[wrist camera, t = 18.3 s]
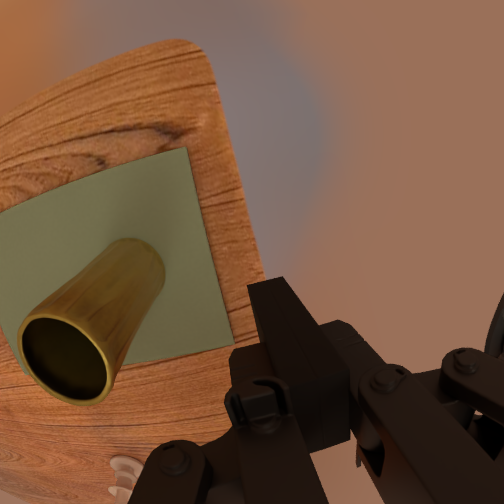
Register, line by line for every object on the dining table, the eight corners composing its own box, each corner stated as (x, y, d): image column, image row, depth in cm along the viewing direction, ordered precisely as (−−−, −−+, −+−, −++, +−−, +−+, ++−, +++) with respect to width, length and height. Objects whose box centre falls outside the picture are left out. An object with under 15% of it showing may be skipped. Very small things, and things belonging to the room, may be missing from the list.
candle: (123, 450, 30) (110, 510, 20) (153, 468, 32) (147, 527, 21) (103, 461, 30) (90, 516, 20) (132, 478, 32) (124, 532, 22)
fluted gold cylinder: (92, 245, 23) (-8, 309, 10) (156, 230, 24) (92, 291, 10) (111, 309, 25) (44, 412, 11) (173, 298, 25) (142, 412, 12)
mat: (186, 147, 23) (186, 146, 23) (234, 340, 28) (235, 344, 27) (-27, 228, 22) (-32, 229, 21) (28, 371, 26) (25, 375, 25)
